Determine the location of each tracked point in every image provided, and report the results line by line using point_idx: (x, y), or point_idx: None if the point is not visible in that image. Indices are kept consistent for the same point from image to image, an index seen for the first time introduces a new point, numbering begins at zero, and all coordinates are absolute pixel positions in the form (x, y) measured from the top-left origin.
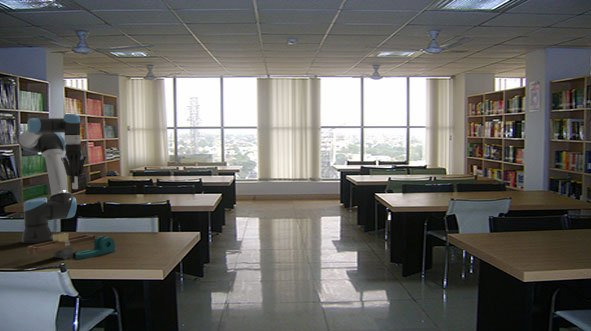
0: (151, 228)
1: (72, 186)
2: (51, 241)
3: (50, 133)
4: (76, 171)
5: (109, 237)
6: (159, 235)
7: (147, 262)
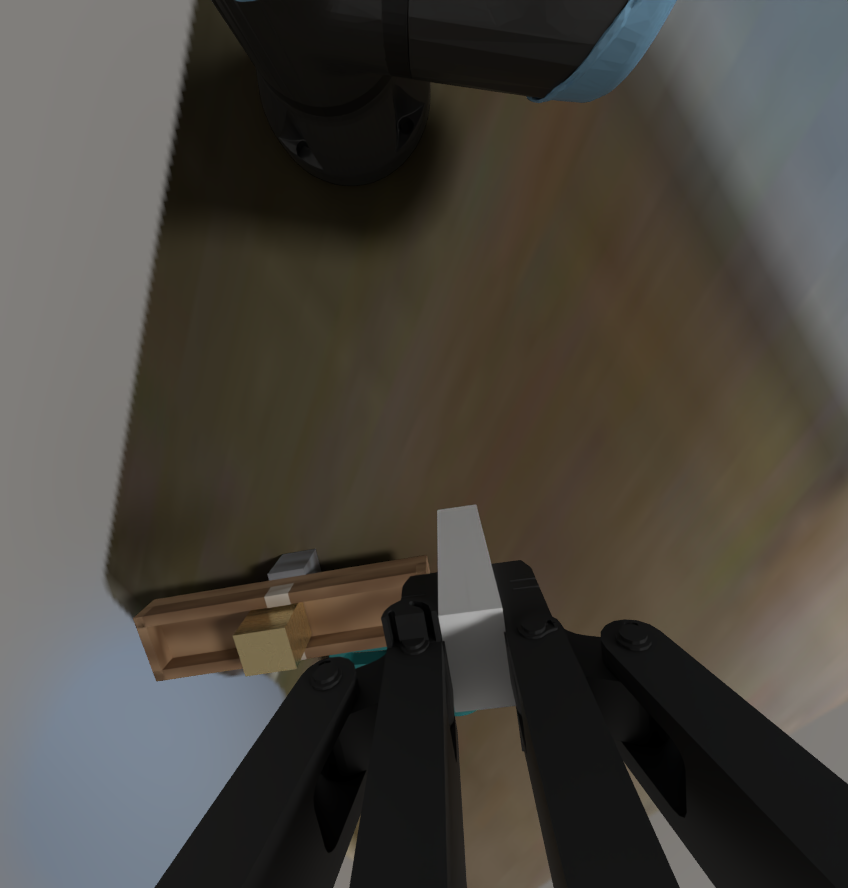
0: None
1: (438, 528)
2: (243, 604)
3: None
4: (537, 796)
5: (466, 714)
6: (807, 539)
7: (467, 862)
